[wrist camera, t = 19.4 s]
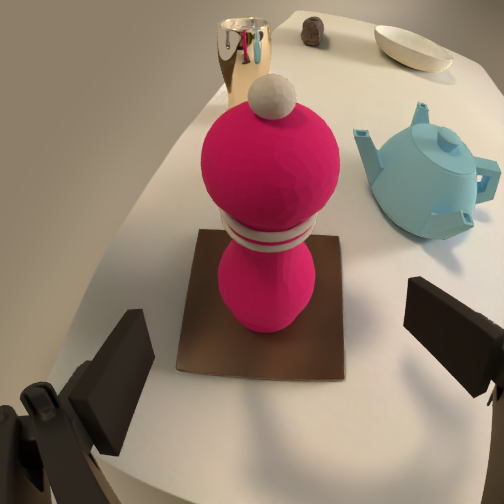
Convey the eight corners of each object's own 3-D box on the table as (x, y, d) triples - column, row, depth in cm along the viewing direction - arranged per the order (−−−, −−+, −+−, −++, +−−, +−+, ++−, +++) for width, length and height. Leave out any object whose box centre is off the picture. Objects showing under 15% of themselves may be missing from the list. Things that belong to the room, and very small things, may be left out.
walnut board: (178, 370, 24) (175, 369, 23) (200, 234, 31) (199, 228, 30) (341, 380, 23) (344, 379, 22) (336, 241, 30) (338, 235, 30)
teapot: (427, 278, 28) (481, 218, 19) (334, 186, 34) (353, 110, 25) (479, 215, 32) (518, 161, 23) (403, 146, 38) (425, 86, 29)
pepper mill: (248, 251, 29) (234, 36, 12) (319, 282, 27) (387, 71, 10) (209, 315, 26) (124, 109, 8) (285, 353, 24) (348, 172, 7)
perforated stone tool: (306, 31, 65) (307, 10, 59) (325, 34, 64) (327, 13, 58) (297, 47, 57) (299, 21, 51) (320, 51, 56) (322, 25, 50)
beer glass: (257, 131, 40) (255, 32, 27) (215, 120, 41) (204, 28, 29) (278, 108, 43) (280, 20, 30) (239, 98, 45) (233, 15, 32)
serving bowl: (455, 92, 50) (463, 69, 44) (373, 65, 54) (378, 39, 48) (436, 61, 60) (441, 42, 55) (368, 40, 64) (371, 19, 58)
